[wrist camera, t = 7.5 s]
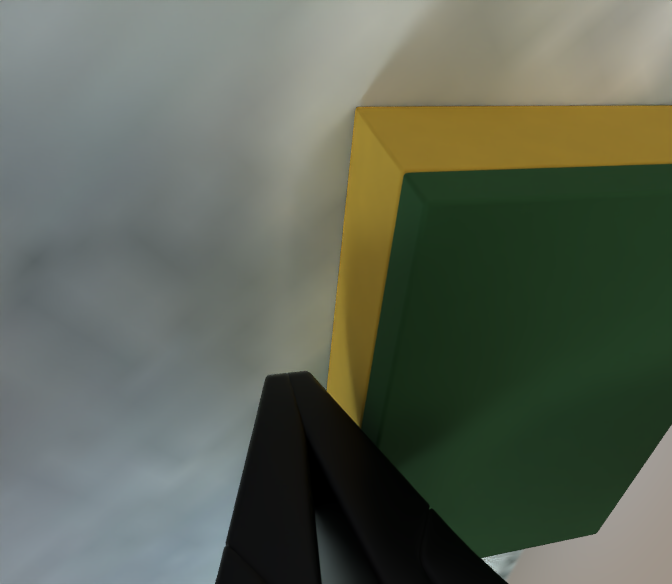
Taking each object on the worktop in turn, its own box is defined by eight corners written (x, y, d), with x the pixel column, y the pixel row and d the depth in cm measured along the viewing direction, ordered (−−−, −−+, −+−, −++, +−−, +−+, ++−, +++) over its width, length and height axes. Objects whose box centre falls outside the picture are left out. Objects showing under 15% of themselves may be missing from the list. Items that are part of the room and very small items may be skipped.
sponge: (532, 431, 15) (597, 535, 13) (318, 465, 14) (348, 587, 12) (683, 104, 10) (841, 182, 8) (354, 105, 8) (426, 203, 6)
